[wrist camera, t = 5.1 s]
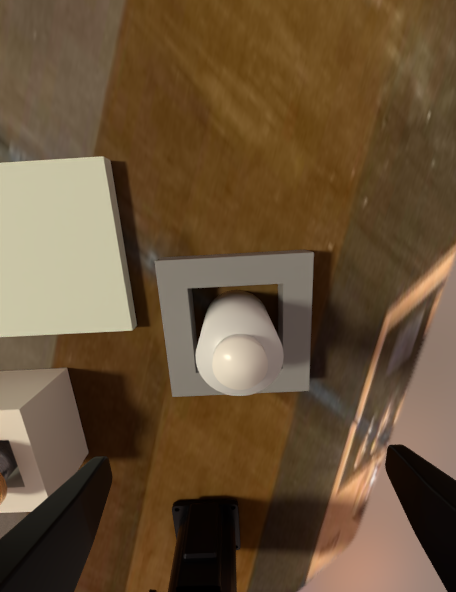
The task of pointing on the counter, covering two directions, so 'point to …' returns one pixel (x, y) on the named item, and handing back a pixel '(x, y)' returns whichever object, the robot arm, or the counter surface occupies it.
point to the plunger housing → (39, 434)
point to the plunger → (6, 466)
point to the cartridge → (238, 345)
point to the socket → (236, 272)
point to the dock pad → (62, 249)
